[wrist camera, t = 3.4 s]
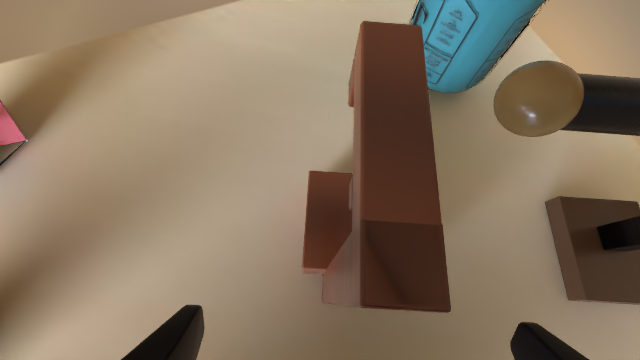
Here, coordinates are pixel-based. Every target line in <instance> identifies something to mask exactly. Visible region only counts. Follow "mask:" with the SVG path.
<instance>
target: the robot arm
mask: <svg viewBox="0 0 640 360" xmlns="http://www.w3.org/2000/svg"><path fill="white" fill-rule="evenodd" d="M203 334H204V319H203V310H202V307H201V306H200V305H186V306H184V307H183V308H181V309H180V310H179V311H178V312H177V313H176V314H174V315H173V316H172V317H171V318H170V319H168V320H167V321H166V322H165V323H164V324H163V325H161V326H160V327H159V328H158V329H157V330H155V331H154V332H153V333H152V334H151V335H150V336H148V337H147V338H146V339H145V340H144V341H143V342H141V343H140V344H139V345H138V346H137V347H135V348H134V349H133V350H132V351H131V352H130V353H128V354H127V355H126V356H125V357H124V358H122V359H121V360H196V358H197V355H198V352H199V348H200V345H201V341H202V338H203ZM510 347H511V351H512V354H513V356H514V359H515V360H589V359H587V358H586V357H585V356H583V355H582V354H580V353H579V352H577V351H576V350H574V349H573V348H572V347H570V346H569V345H567V344H566V343H564V342H563V341H562V340H560V339H559V338H557V337H556V336H554V335H553V334H552V333H550V332H549V331H547V330H546V329H544V328H543V327H542V326H540V325H538V324H537V323H532V322H521V323H519V324H518V326H517V328H516V331H515V333H514V335H513V337H512V339H511V343H510Z"/></svg>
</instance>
